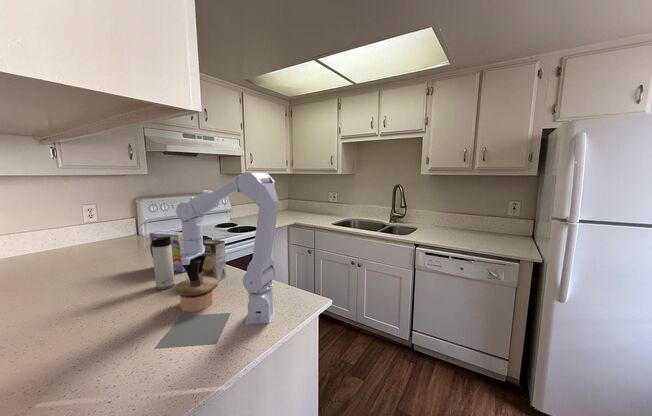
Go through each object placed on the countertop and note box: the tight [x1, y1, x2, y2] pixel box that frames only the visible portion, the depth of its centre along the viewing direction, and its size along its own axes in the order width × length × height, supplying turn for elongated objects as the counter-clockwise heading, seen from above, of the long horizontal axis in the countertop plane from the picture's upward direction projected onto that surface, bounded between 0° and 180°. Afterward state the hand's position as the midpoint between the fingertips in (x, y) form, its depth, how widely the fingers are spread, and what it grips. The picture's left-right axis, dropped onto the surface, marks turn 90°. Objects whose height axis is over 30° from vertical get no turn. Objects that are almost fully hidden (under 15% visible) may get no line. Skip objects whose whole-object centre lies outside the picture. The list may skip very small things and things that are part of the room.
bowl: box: [179, 288, 216, 313], centre depth 88 cm, size 10×10×5 cm
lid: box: [173, 272, 219, 296], centre depth 87 cm, size 13×13×4 cm
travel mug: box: [152, 236, 176, 291], centre depth 102 cm, size 6×7×20 cm
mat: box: [153, 312, 232, 350], centre depth 74 cm, size 15×15×1 cm
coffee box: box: [202, 238, 227, 283], centre depth 110 cm, size 9×6×16 cm
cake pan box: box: [148, 229, 186, 273], centre depth 121 cm, size 19×5×18 cm, turn 70°
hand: (195, 278), depth 87 cm, fingers closed on lid, 3 cm apart
